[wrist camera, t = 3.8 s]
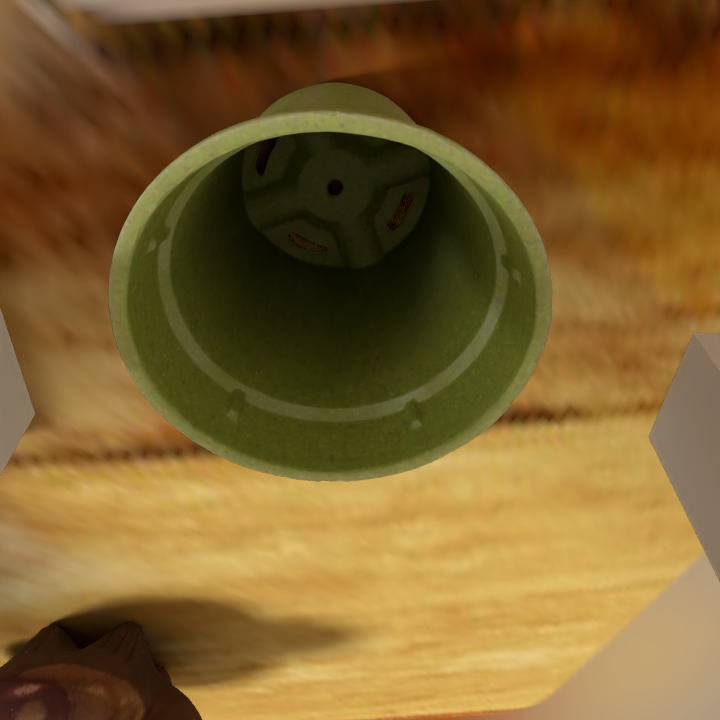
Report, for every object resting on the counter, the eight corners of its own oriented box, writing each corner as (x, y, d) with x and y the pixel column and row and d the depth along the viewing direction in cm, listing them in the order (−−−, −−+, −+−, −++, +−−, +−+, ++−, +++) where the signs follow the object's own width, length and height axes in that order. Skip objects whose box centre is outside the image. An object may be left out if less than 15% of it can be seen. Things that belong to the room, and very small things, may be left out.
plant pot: (237, -47, 18) (166, 20, 11) (542, 97, 20) (646, 228, 13) (156, 248, 23) (73, 421, 16) (406, 335, 25) (429, 519, 18)
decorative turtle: (253, 674, 40) (227, 833, 34) (24, 685, 42) (-38, 836, 36) (196, 588, 34) (152, 765, 28) (-68, 607, 36) (-161, 773, 30)
